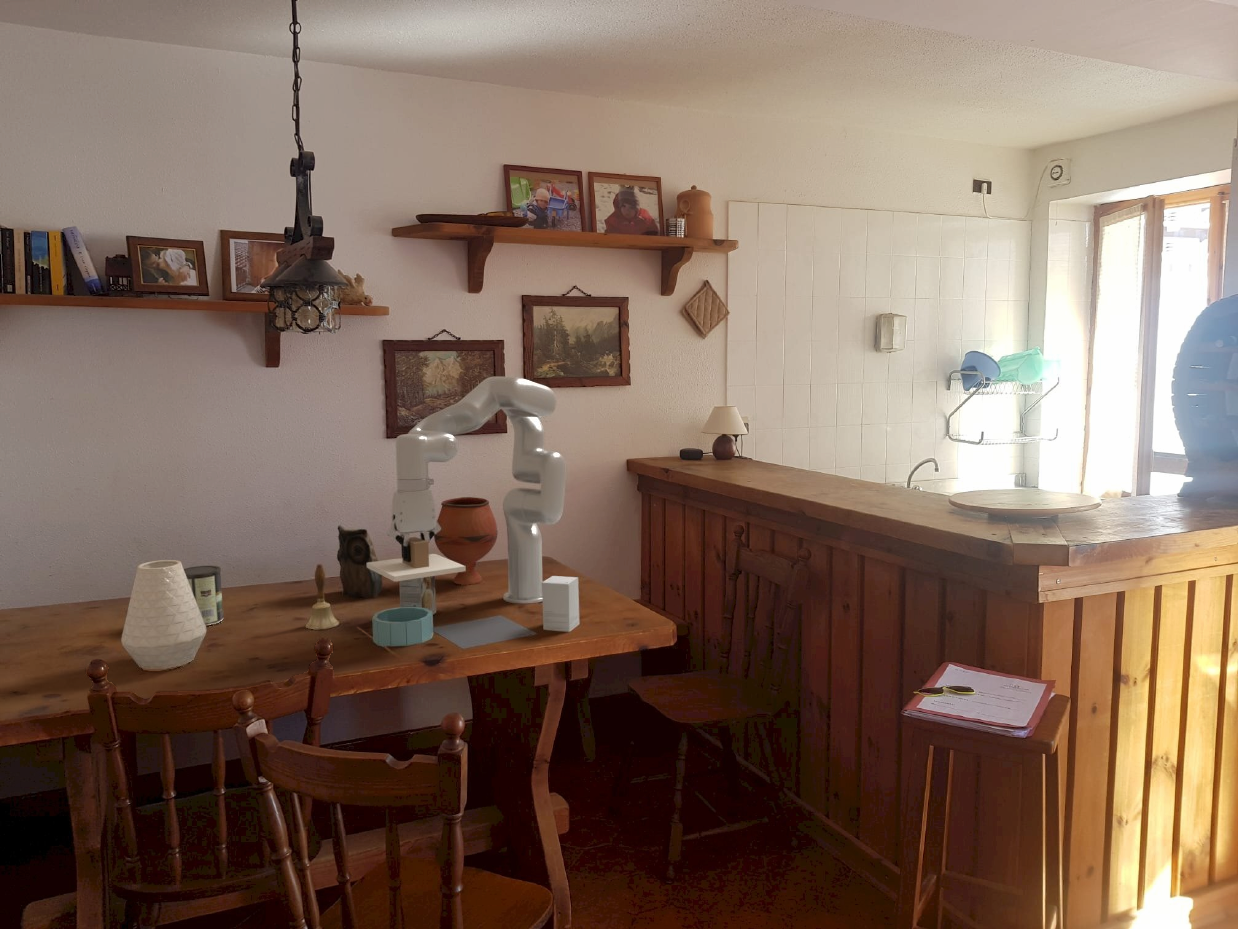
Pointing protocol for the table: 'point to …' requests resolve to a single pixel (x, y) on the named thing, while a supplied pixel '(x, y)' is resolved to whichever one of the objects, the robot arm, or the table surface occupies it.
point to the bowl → (402, 626)
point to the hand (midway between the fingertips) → (415, 559)
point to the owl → (357, 563)
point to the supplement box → (560, 603)
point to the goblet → (466, 534)
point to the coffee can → (207, 591)
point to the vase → (162, 617)
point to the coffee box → (418, 593)
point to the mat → (482, 631)
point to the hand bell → (321, 606)
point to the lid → (416, 564)
